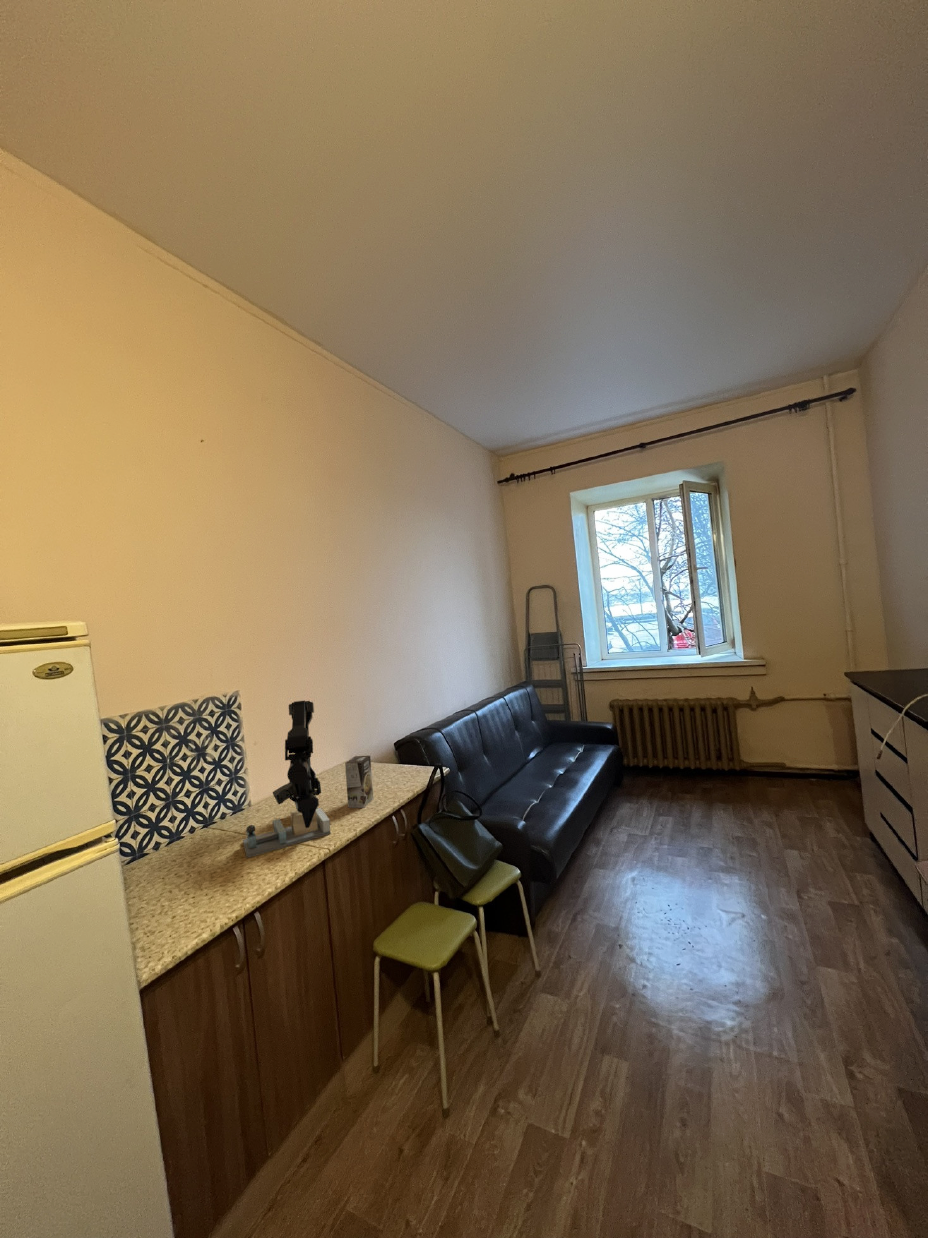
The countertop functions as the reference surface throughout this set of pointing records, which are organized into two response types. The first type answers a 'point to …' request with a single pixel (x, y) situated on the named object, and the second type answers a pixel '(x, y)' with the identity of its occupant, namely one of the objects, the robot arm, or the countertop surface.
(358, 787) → the coffee box
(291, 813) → the oak block
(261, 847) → the vise bed
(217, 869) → the countertop surface
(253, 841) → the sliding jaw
